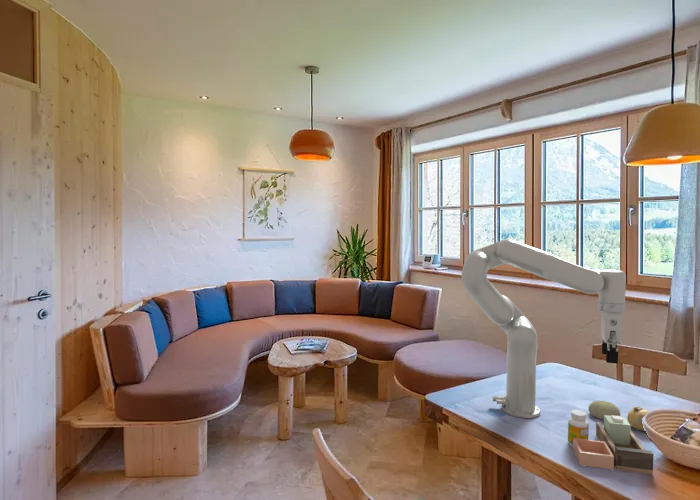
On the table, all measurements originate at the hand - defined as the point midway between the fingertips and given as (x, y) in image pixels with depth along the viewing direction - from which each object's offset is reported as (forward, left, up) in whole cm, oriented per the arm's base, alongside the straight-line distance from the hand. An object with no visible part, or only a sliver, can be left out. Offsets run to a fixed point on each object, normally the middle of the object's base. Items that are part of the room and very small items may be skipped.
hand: (609, 358), depth 142 cm
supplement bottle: (-13, -20, -21) cm, 32 cm away
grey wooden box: (-2, -22, -21) cm, 30 cm away
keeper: (-2, -17, -19) cm, 26 cm away
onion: (+9, -4, -21) cm, 23 cm away
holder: (-11, -28, -21) cm, 37 cm away
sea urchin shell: (0, +3, -21) cm, 22 cm away
